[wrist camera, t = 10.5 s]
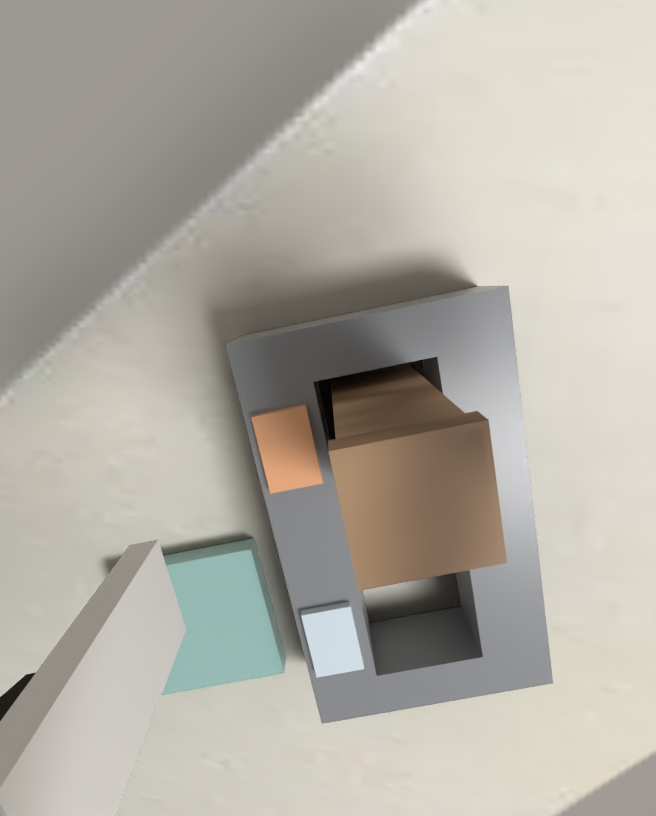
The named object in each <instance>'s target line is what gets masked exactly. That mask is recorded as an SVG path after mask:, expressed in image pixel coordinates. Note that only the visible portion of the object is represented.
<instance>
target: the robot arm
mask: <svg viewBox="0 0 656 816" xmlns="http://www.w3.org/2000/svg"><path fill="white" fill-rule="evenodd" d="M185 632H186V627H185V624H184V621H183V617H182V614H181V611H180V608H179V605H178V601H177V598H176V595H175V592H174V589H173V586H172V582H171V579H170V576H169V573H168V570H167V567H166V563H165V560H164V557H163V554H162V551H161V547H160V544H159V541H158V540H154V541H149V542H144V543H139V544H134V545H129V547H128V548H127V550H126V551H125V552H124V554H123V555H122V556H121V558H120V559H119V560H118V562H117V563H116V564H115V566H114V567H113V569H112V570H111V571H110V573H109V574H108V575H107V577H106V578H105V579H104V581H103V582H102V584H101V585H100V586H99V588H98V589H97V590H96V592H95V593H94V594H93V596H92V597H91V598H90V600H89V601H88V603H87V604H86V605H85V607H84V608H83V609H82V611H81V612H80V613H79V615H78V616H77V618H76V619H75V620H74V622H73V623H72V624H71V626H70V627H69V628H68V630H67V631H66V633H65V634H64V635H63V637H62V638H61V639H60V641H59V642H58V643H57V645H56V646H55V647H54V649H53V650H52V652H51V653H50V654H49V656H48V657H47V658H46V660H45V661H44V662H43V664H42V665H41V667H40V668H39V669H38V671H37V672H36V673H32V674H27V675H25V676H24V677H23V678H22V679H21V680H20V681H18V682H17V683H16V684H15V685H14V686H13V687H12V688H10V689H9V690H8V691H7V692H6V693H5V694H4V695H2V696H1V697H0V816H116V813H117V810H118V808H119V805H120V803H121V800H122V797H123V795H124V792H125V789H126V787H127V784H128V781H129V779H130V776H131V774H132V771H133V768H134V766H135V763H136V760H137V758H138V755H139V753H140V750H141V747H142V745H143V742H144V739H145V737H146V734H147V731H148V729H149V726H150V724H151V721H152V718H153V716H154V713H155V710H156V708H157V705H158V703H159V700H160V697H161V695H162V692H163V689H164V687H165V684H166V682H167V679H168V676H169V674H170V671H171V668H172V666H173V663H174V660H175V658H176V655H177V653H178V650H179V647H180V645H181V642H182V639H183V637H184V634H185Z"/></svg>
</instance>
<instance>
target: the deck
mask: <svg viewBox="0 0 656 816" xmlns="http://www.w3.org/2000/svg"><path fill="white" fill-rule="evenodd" d="M163 557H164V560H165V563H166V567H167V570H168V573H169V576H170V579H171V582H172V586H173V589H174V592H175V595H176V598H177V601H178V605H179V608H180V611H181V614H182V617H183V621H184V624H185V627H186V632H185V634H184V637H183V639H182V642H181V645H180V647H179V650H178V653H177V655H176V658H175V660H174V663H173V666H172V668H171V671H170V674H169V676H168V679H167V682H166V684H165V687H164V689H163V692H162V695H165V694H171V693H176V692H182V691H187V690H193V689H198V688H204V687H210V686H215V685H221V684H226V683H232V682H237V681H243V680H248V679H254V678H260V677H265V676H271V675H276V674H282V673H284V670H285V660H286V657H285V653H284V649H283V645H282V642H281V638H280V634H279V630H278V627H277V623H276V619H275V615H274V612H273V608H272V604H271V600H270V597H269V593H268V589H267V585H266V582H265V578H264V574H263V570H262V567H261V563H260V559H259V555H258V551H257V548H256V544H255V540H254V538H252V539H247V540H242V541H237V542H231V543H226V544H221V545H216V546H210V547H205V548H200V549H195V550H190V551H184V552H179V553H174V554H169V555H164V556H163Z"/></svg>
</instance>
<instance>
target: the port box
mask: <svg viewBox="0 0 656 816" xmlns="http://www.w3.org/2000/svg"><path fill="white" fill-rule="evenodd" d="M225 346H226V350H227V354H228V358H229V362H230V366H231V370H232V374H233V377H234V381H235V385H236V389H237V393H238V397H239V401H240V405H241V409H242V413H243V417H244V421H245V424H246V428H247V432H248V436H249V440H250V444H251V448H252V452H253V456H254V460H255V464H256V468H257V471H258V475H259V479H260V483H261V487H262V491H263V495H264V499H265V503H266V507H267V511H268V515H269V518H270V522H271V526H272V530H273V534H274V538H275V542H276V546H277V550H278V554H279V558H280V562H281V565H282V569H283V573H284V577H285V581H286V585H287V589H288V593H289V597H290V601H291V605H292V608H293V612H294V616H295V620H296V624H297V628H298V632H299V636H300V640H301V644H302V648H303V652H304V655H305V659H306V663H307V667H308V671H309V675H310V679H311V683H312V687H313V691H314V695H315V699H316V702H317V706H318V710H319V714H320V718H321V722H322V724H323V723H329V722H334V721H340V720H346V719H351V718H357V717H363V716H368V715H374V714H380V713H386V712H391V711H397V710H403V709H408V708H414V707H420V706H426V705H431V704H437V703H443V702H448V701H454V700H460V699H465V698H471V697H477V696H483V695H488V694H494V693H500V692H505V691H511V690H517V689H523V688H528V687H534V686H540V685H545V684H551V683H553V679H552V670H551V661H550V652H549V643H548V634H547V626H546V617H545V608H544V599H543V590H542V581H541V572H540V563H539V554H538V545H537V536H536V528H535V519H534V510H533V501H532V492H531V483H530V474H529V465H528V456H527V447H526V439H525V430H524V421H523V412H522V403H521V394H520V385H519V376H518V367H517V358H516V350H515V341H514V332H513V323H512V314H511V305H510V296H509V287H508V286H477V287H473V288H468V289H463V290H458V291H453V292H449V293H444V294H439V295H434V296H429V297H425V298H420V299H415V300H410V301H406V302H401V303H396V304H391V305H386V306H382V307H377V308H372V309H367V310H362V311H358V312H353V313H348V314H343V315H338V316H334V317H329V318H324V319H319V320H314V321H310V322H305V323H300V324H295V325H291V326H286V327H281V328H276V329H271V330H267V331H262V332H257V333H252V334H247V335H243V336H240V337H238V338H236V339H235V340H233V341H231V342H229V343H228V344H226V345H225ZM418 360H422V365H423V372H424V378H425V379H427V380H428V381H429V382H430V383H431V384H432V385H433V386H435V387H436V388H437V389H438V390H439V391H440V392H441V393H442V394H444V395H445V396H446V397H447V398H448V399H449V400H450V401H452V402H453V403H454V404H455V405H456V406H457V407H458V408H460V409H461V410H462V411H463V412H464V413H469V412H474V411H478V412H479V413H481V414H482V415H483V416H484V417H486V418H487V419H488V420H489V427H490V435H491V442H492V450H493V458H494V465H495V473H496V481H497V488H498V496H499V504H500V511H501V519H502V527H503V534H504V542H505V550H506V557H507V563H505V564H499V565H494V566H489V567H483V568H478V569H473V570H467V571H462V572H456V579H457V585H458V591H459V597H460V604H461V606H460V607H454V608H449V609H444V610H438V611H433V612H427V613H422V614H416V615H411V616H405V617H400V618H394V619H389V620H383V621H378V622H372V623H369V619H368V614H367V609H366V605H365V600H364V595H363V591H362V590H360V591H358V586H357V582H356V577H355V572H354V568H353V563H352V559H351V554H350V549H349V545H348V540H347V535H346V531H345V526H344V521H343V517H342V512H341V508H340V503H339V498H338V494H337V489H336V484H335V480H334V475H333V470H332V466H331V461H330V457H329V452H328V440H330V436H329V431H328V427H327V422H326V417H325V413H324V408H323V403H322V399H321V394H320V389H319V385H318V381H320V380H325V379H330V378H334V377H339V376H344V375H349V374H354V373H359V372H364V371H369V370H374V369H379V368H384V367H389V366H393V365H398V364H403V363H408V362H413V361H418Z"/></svg>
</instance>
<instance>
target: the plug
mask: <svg viewBox="0 0 656 816" xmlns="http://www.w3.org/2000/svg"><path fill="white" fill-rule="evenodd" d="M331 390H332V402H333V414H334V426H335V438H336V439H333V440H328V452H329V457H330V461H331V466H332V470H333V475H334V480H335V484H336V489H337V494H338V498H339V503H340V508H341V512H342V517H343V521H344V526H345V531H346V535H347V540H348V545H349V549H350V554H351V559H352V563H353V568H354V572H355V577H356V582H357V586H358V591H360V590H365V589H371V588H376V587H381V586H387V585H392V584H397V583H403V582H408V581H414V580H419V579H424V578H430V577H435V576H440V575H446V574H451V573H456V572H462V571H467V570H473V569H478V568H483V567H489V566H494V565H499V564H505V563H507V557H506V550H505V542H504V534H503V527H502V519H501V511H500V504H499V496H498V488H497V481H496V473H495V465H494V458H493V450H492V442H491V435H490V427H489V420H488V419H487V418H486V417H484V416H483V415H482V414H481V413H479V412H478V411H474V412H469V413H464V412H463V411H462V410H461V409H460V408H458V407H457V406H456V405H455V404H454V403H453V402H452V401H450V400H449V399H448V398H447V397H446V396H445V395H444V394H442V393H441V392H440V391H439V390H438V389H437V388H436V387H435V386H433V385H432V384H431V383H430V382H429V381H428V380H427V379H425V378H424V377H423V376H422V375H421V374H420V373H419V372H417V371H416V370H415V369H414V368H413V367H412V366H411V365H409V364H408V363H403V364H399V365H394V366H389V367H384V368H379V369H374V370H369V371H364V372H359V373H354V374H349V375H345V376H340V377H335V378H331Z"/></svg>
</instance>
